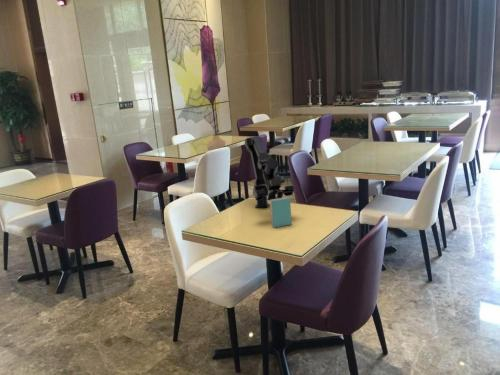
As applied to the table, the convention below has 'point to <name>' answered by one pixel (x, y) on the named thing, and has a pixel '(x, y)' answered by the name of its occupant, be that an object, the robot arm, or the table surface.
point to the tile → (280, 212)
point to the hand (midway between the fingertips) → (279, 208)
